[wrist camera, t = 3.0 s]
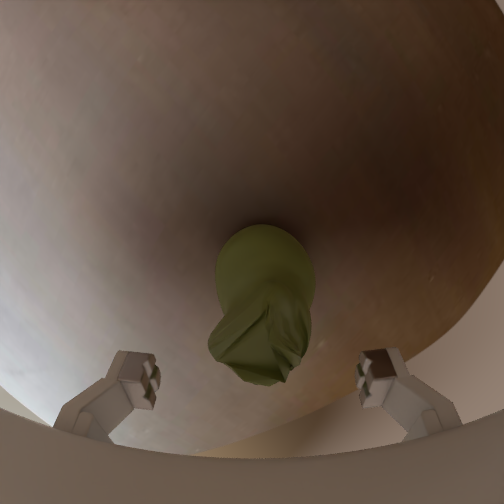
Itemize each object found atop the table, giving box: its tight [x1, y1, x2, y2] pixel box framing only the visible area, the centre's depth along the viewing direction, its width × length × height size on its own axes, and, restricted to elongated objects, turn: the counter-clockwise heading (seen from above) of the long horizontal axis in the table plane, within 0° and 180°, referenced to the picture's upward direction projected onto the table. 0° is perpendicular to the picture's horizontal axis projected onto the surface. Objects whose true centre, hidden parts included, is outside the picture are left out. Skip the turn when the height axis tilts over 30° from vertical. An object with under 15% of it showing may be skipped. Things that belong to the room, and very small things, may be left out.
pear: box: [208, 224, 315, 386], centre depth 16 cm, size 6×5×10 cm
